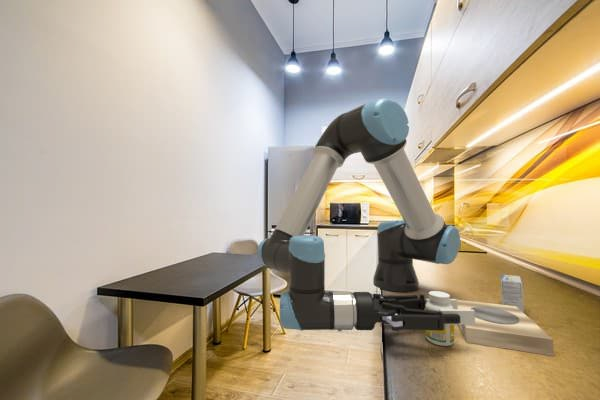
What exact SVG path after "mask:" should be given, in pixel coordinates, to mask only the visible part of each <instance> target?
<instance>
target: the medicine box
mask: <svg viewBox="0 0 600 400" xmlns="http://www.w3.org/2000/svg"><path fill="white" fill-rule="evenodd" d="M500 279H501V280H500V289H501V293H500V295H501V305H509V306H516V307H517V308H519V309H520V310H521V311H522V312H523V313H524V314H525V311H524V289H523V280H522V278H521V276H520V275H511V274H501V278H500Z"/></svg>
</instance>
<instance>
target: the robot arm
mask: <svg viewBox="0 0 600 400" xmlns="http://www.w3.org/2000/svg"><path fill="white" fill-rule="evenodd" d="M408 124H409V119H408V115H407V113H406V112H405V110H404V108H403V107H402V106H401V104H400V103H398V102H397V101H395V100H394V99H390V98H386V97H384V98H383V97H382V98H378V99H376V100H372V101H368V102H367V103H364V104H363V105H360V106H357V107H356V108H353V109H351V110H349V111H347V112H343V113H341V114H339V115H338V116H337V117H335V118H334V119H333V120H332V121H331V123H329V124H328V126H327V127H326V129H325V130H324V131H323V133H322V135H321V136H320V137H319V139H318V141H317V143H316V144H315V146H314V148H313V150H312V154H313V158H312V159H311V161H310V163H309V165H308V166H307V168H306V170H305V172H304V174H303V176H302V178H301V180H300V181H299V184H298V186H297V187H296V189H295V191H294V193H293V194H292V197H291V198H290V201H289V202H288V204H287V206H286V208H285V209H284V211H283V214H282V215H281V217H280V219H279V220H278V222H277V224H276V227H275V229H274V231H273V232H272V233H271V236H270V237H269V238H264V239H263V240H262V241H261V242H259V244H258V245H257V249H256V256H257V260H258V261H259V262H260V264H261V265H263V266H265V267H266V268H268V269H269V270H273V271H277V272H280V273H282V274H285V275H287V276H289V279H288V281H289V290H287V291H283V292H282V293H281V294H280V300H279V324H280V326H281V327H282V328H283V329H285V330H296V331H297V330H298V331H301V332H302V331H320V330H321V331H324V330H325V331H326V330H327V331H328V330H329V331H337V332H342V331H352V330H353V329H356V330H357V331H373V330H375V329H374V328H375V327H376V326H375V325H376V324H377V323H379V324H384V325H391V331H394V332H399V331H405V330H406V331H409V330H410V331H411V330H412V331H426V330H444V325H454V326H455V325H458V326H459V325H475V311H474V310H473V309H458V304H457V300H458V299H456V298H450V303H449V304H450V305H451V306H452V307H453V309H439V311H430V310H425V305H426V303H427V302H428V301H430V300H429V298H426V297H425V294H419V295H417V294H415V295H412V294H411V295H408V294H407V295H404V294H403V295H400V294H399V295H390V294H389V295H383V294H375V295H374V297H373V295H372V293H371V292H369V291H354V292H353V293H351V292H350V291H326V290H325V286H326V285H325V283H326V282H325V274H326V272H325V268H326V267H325V265H326V264H325V263H326V261H325V260H326V254H325V253H326V252H325V242H324V241H325V240H324V239H323V238H322V237H321V236H318V235H309V234H308V235H307V234H306V235H305V233H306V232H307V229H308V228H309V227H310V224H311V222H312V220H313V217H314V216H315V214H316V212H317V209H318V208H319V205H320V204H321V201H322V200H323V197H324V195H325V193H326V191H327V190H328V188H329V185H330V183H331V181H332V179H333V177H334V176H335V174H336V171H337V169H339V168H341V167H342V166H343V165H344V163H345V162H346V159H348V158H349V156H351V155H353V154H357V153H361V156H362V157H363V159H364V161H365V162H366V163H368V164H371V165H373V166H374V167H375V169H376V170H377V173H378V174H379V177H380V178H381V181H382V182H383V183H384V185H385V188H386V189H387V191H388V193H389V195H390V197H391V199H392V201H393V203H394V204H395V206H396V208H397V210H398V212H399V214H400V217H402V219H400V220H398V219H397V220H389V221H381V222H380V223H379V224H378V225H377V233H376V234H377V266H376V269H375V272H374V275H373V279H372V280H373V283H372V284H373V286H375V287H377V289H381V290H385V291H389V292H397V293H398V292H399V293H404V292H405V293H407V292H415V291H417V290H419V288H420V287H419V285H420V284H419V278H418V277H417V273H416V270H415V268H414V264H413V263H414V262H413V261H414V260H415V261H416V260H417V261H422V262H427V263H432V264H436V265H450V264H452V263H453V262H454V261H455V260H456V258H457V257H458V254H459V250H460V247H461V235H460V231H459V229H458V228H457V226H453V225H447V224H446V221H445V220H444V218H443V216H441V215H440V214H438V213H436V212H435V211H434V210H433V208H432V204H431V203H430V202H429V200H428V197H427V195H426V193H425V191H424V189H423V187H422V185H421V182H420V180H419V179H418V176H417V174H416V172H415V170H414V168H413V165H412V164H411V162H410V159H409V157H408V156H407V153H406V151H405V147H406V145H407V142H408V140H407V137H408V136H409V131H410V126H409V125H408Z"/></svg>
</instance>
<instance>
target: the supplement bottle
mask: <svg viewBox="0 0 600 400" xmlns="http://www.w3.org/2000/svg"><path fill="white" fill-rule="evenodd" d="M428 299H429V300H430V301H428V302H427V303H426V305H425V310H430V311H439V309H453V307H452V306H451V305H450V304H449V303H450V299H451V295H450V294H449V293H447V292H444V291H439V290H434V291H433V290H430V291H429V292H428ZM425 338H426V339H427V341H429V342H430V343H432V344H434V345H437V346H442V347H450V346H452V345H454V343H455V325H444V330H425Z"/></svg>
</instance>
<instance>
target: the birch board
mask: <svg viewBox="0 0 600 400" xmlns="http://www.w3.org/2000/svg"><path fill="white" fill-rule="evenodd" d="M456 300H457V304H458V309H473V310H474V311H475V325H458V326H459V328H460V331H461V333H462V336H463V338H464V340H465V342H466V343H469V344H475V345H480V346H481V345H482V346H488V347H495V348H501V349H506V350H515V351H521V352H528V353H533V354H540V355H547V356H553V357H554V356H555V355H554V353H555V352H554V350H555V349H554V339H553V338H552V336H550V335H549V334H548V333H546V332H545V331H544V330H543V329H542V328H541V327H540V326H539V325H537V324H536V323H535V321H533V320H532V319H531V318H530V317H528V316H527V315H526V313H525V312H524V313H523V312H522V311H521V310H520V309H519V308H517V307H516V306H509V305H502V304H499V303H498V304H497V303H488V302H480V301H469V300H460V299H456Z"/></svg>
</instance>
